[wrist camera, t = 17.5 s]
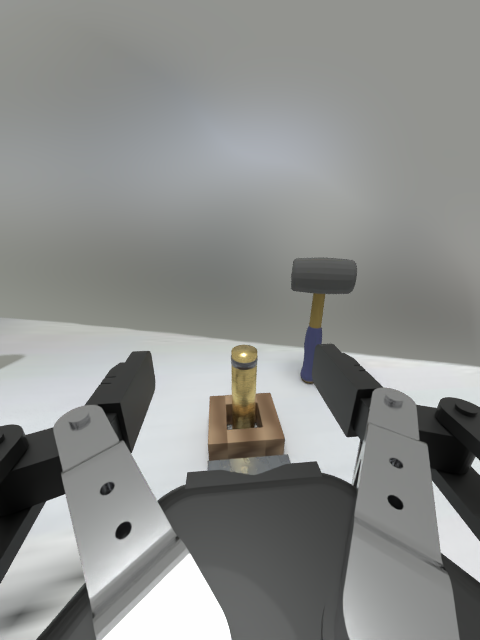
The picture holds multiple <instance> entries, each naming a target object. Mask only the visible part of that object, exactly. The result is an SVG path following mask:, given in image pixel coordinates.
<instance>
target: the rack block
mask: <svg viewBox="0 0 480 640" xmlns="http://www.w3.org/2000/svg"><path fill="white" fill-rule="evenodd" d="M255 423H257V427H258V428H248V429H234V430H227V425H230V424H232V395H225V396H210V405H209V432H208V451H209V461H214V460H226V459H239V458H251V457H263V456H275V455H283V452H284V442H285V438H284V434H283V431H282V428H281V425H280V422H279V419H278V416H277V412H276V409H275V406H274V403H273V400H272V397H271V394H270V393H259V394H256V398H255Z"/></svg>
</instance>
